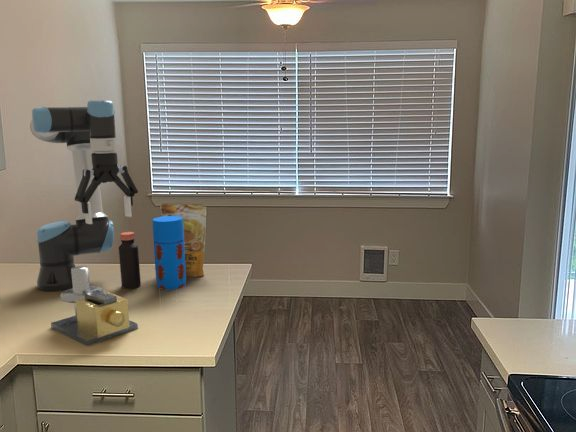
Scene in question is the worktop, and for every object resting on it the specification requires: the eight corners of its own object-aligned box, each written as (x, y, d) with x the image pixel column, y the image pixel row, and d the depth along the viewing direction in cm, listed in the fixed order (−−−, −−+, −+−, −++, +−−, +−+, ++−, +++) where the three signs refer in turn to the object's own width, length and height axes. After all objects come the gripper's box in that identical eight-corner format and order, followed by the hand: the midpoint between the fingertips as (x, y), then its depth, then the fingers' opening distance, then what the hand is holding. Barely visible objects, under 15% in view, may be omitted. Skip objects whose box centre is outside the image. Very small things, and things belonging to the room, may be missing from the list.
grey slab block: (87, 324, 161) (84, 293, 159) (99, 320, 164) (96, 289, 162) (106, 332, 155) (103, 300, 153) (118, 327, 158) (116, 296, 156)
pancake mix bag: (167, 270, 222) (163, 202, 217) (211, 273, 217) (208, 203, 212) (159, 275, 215) (154, 205, 210) (204, 278, 211) (201, 206, 206)
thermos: (172, 291, 196) (167, 222, 191) (150, 287, 201) (145, 220, 197) (192, 283, 205) (189, 217, 200) (171, 279, 210) (167, 215, 206)
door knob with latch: (49, 326, 165) (43, 270, 162) (98, 311, 177) (93, 259, 173) (94, 349, 148) (88, 287, 145) (144, 331, 160) (140, 273, 157)
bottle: (133, 289, 198) (129, 235, 195) (117, 288, 201) (113, 234, 197) (144, 284, 205) (140, 231, 201) (128, 282, 207) (124, 230, 203)
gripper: (70, 156, 156) (77, 228, 161) (146, 149, 174) (150, 215, 179) (58, 154, 161) (65, 224, 165) (133, 148, 179) (137, 212, 184)
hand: (109, 220), depth 172 cm, fingers open, 13 cm apart
